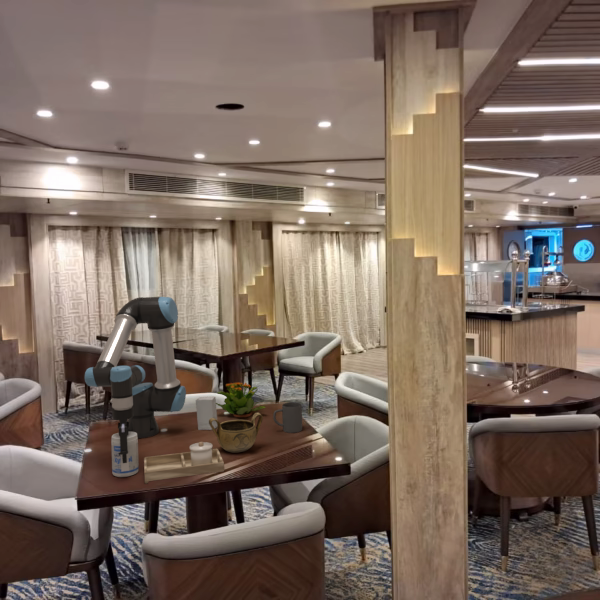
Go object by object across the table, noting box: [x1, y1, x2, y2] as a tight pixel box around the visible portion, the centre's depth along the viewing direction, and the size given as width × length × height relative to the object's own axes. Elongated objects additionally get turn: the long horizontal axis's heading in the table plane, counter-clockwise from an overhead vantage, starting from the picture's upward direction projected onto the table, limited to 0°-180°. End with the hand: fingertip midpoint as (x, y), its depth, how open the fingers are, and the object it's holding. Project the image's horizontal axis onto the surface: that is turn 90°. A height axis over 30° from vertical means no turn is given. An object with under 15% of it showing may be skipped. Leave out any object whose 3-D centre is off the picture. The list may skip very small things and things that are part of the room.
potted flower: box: [216, 381, 267, 419], centre depth 283 cm, size 25×24×18 cm
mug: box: [272, 401, 303, 434], centre depth 255 cm, size 14×9×12 cm
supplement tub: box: [110, 431, 140, 478], centre depth 208 cm, size 10×10×15 cm
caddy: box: [143, 448, 225, 485], centre depth 209 cm, size 17×28×4 cm, turn 106°
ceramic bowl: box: [209, 411, 264, 454], centre depth 229 cm, size 22×17×15 cm
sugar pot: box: [189, 441, 213, 466], centre depth 211 cm, size 9×9×9 cm
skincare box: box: [195, 396, 218, 431], centre depth 263 cm, size 8×6×15 cm
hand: (125, 466), depth 208 cm, fingers open, 10 cm apart
